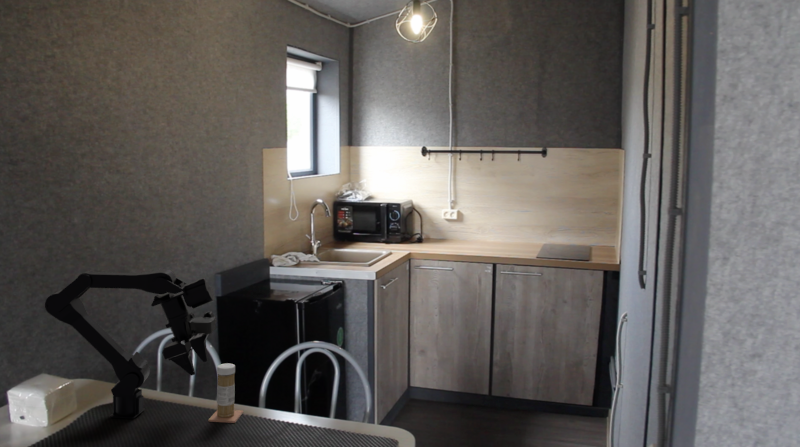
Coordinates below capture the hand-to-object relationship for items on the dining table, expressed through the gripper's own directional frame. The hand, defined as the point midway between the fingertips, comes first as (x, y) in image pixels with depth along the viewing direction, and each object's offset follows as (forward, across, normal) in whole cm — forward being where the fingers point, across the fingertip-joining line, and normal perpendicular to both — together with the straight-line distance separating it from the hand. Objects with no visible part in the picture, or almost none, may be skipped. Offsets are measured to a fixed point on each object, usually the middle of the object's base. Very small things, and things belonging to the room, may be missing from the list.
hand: (199, 368), depth 159 cm
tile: (+14, -3, -3) cm, 15 cm away
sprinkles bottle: (+14, -4, -3) cm, 14 cm away
